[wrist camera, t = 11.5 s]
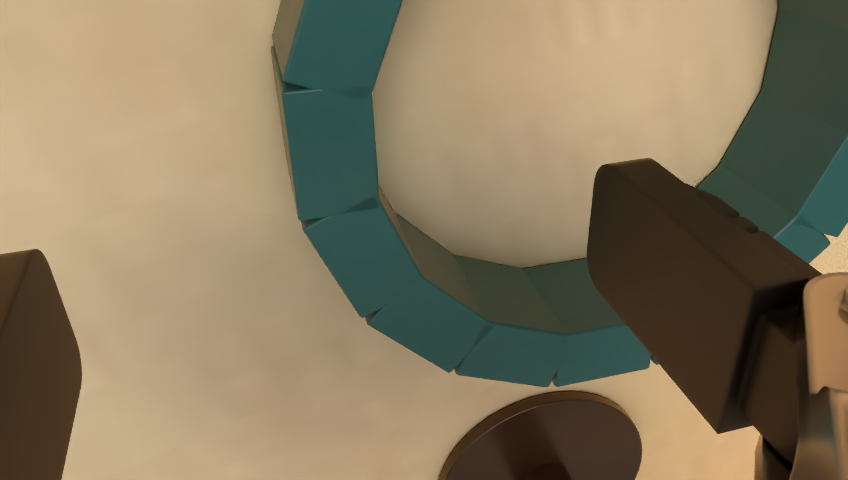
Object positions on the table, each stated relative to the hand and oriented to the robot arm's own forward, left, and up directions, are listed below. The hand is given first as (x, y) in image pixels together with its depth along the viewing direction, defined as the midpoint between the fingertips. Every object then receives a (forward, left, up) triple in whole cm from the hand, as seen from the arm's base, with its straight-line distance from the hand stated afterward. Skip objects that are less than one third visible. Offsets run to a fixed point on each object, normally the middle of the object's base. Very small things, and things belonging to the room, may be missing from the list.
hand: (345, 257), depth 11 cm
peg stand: (+16, +7, -8) cm, 19 cm away
